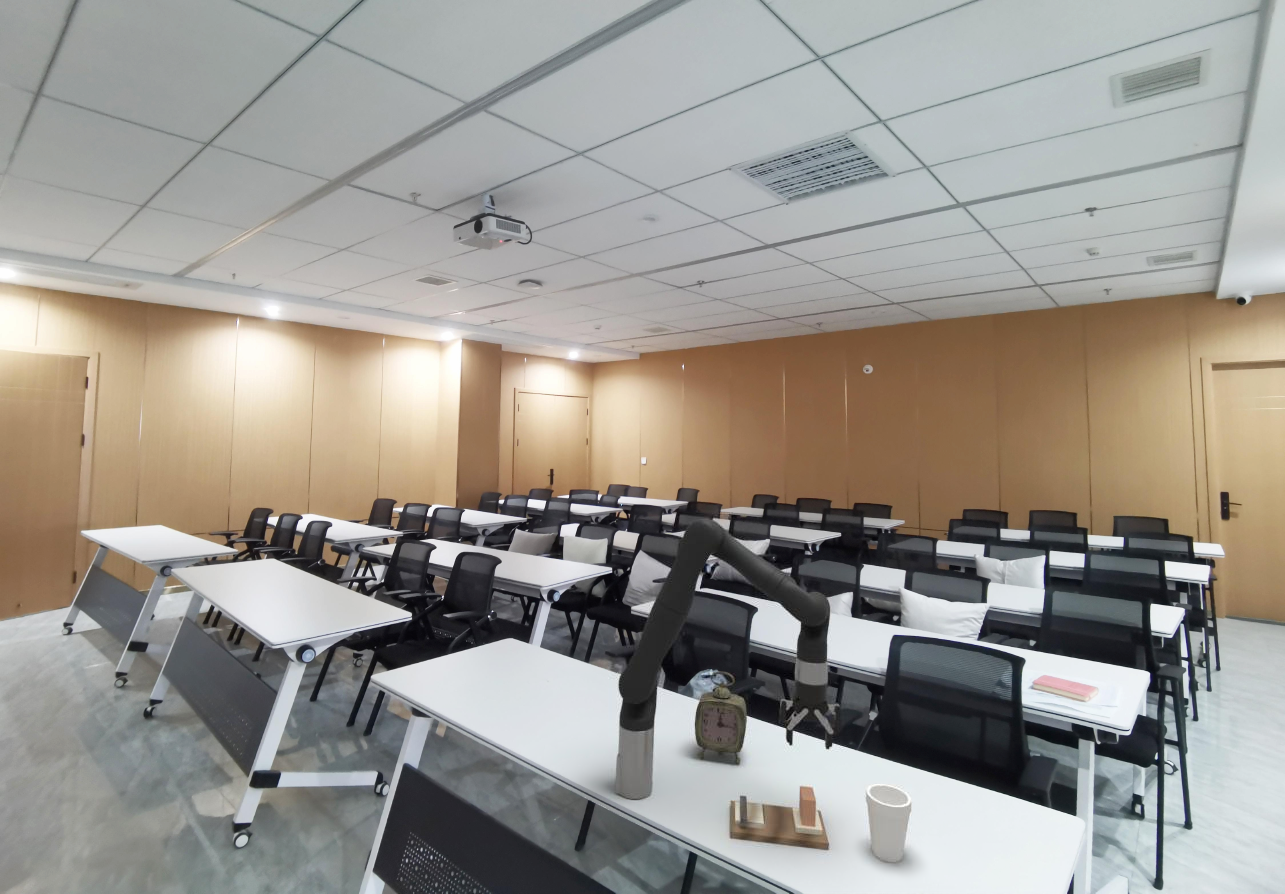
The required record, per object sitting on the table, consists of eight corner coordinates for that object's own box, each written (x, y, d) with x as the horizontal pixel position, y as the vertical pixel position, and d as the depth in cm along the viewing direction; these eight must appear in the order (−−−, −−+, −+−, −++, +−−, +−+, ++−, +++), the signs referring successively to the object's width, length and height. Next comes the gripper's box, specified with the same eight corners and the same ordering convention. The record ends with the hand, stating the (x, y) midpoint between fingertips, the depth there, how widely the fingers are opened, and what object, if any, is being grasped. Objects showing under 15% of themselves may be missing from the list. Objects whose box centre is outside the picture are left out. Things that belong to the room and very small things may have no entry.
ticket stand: (730, 837, 141) (731, 821, 141) (730, 806, 154) (731, 791, 154) (828, 849, 138) (829, 832, 138) (820, 816, 151) (820, 801, 151)
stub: (795, 832, 141) (796, 800, 142) (792, 812, 149) (793, 782, 149) (822, 835, 141) (823, 803, 141) (817, 815, 149) (818, 785, 149)
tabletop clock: (693, 760, 177) (696, 673, 177) (698, 745, 186) (700, 663, 186) (743, 767, 174) (746, 679, 174) (746, 752, 182) (748, 669, 183)
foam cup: (898, 840, 142) (899, 784, 143) (917, 866, 133) (919, 807, 133) (858, 839, 142) (859, 783, 142) (874, 866, 133) (876, 806, 133)
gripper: (781, 680, 143) (779, 750, 143) (844, 686, 141) (842, 756, 141) (779, 669, 150) (777, 735, 150) (839, 674, 148) (837, 741, 148)
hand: (808, 745), depth 145 cm, fingers open, 8 cm apart
